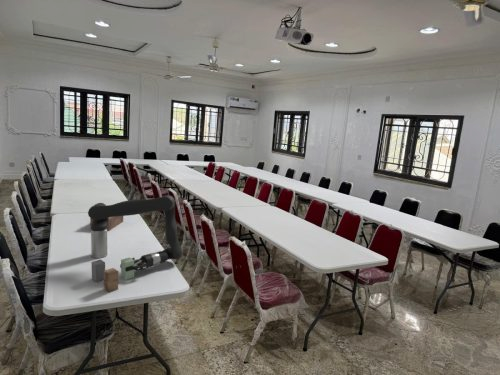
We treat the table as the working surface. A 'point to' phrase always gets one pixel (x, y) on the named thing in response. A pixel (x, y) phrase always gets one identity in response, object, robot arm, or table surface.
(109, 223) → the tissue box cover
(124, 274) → the sage block
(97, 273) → the charcoal block
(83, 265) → the table surface
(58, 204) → the table surface
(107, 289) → the walnut block
